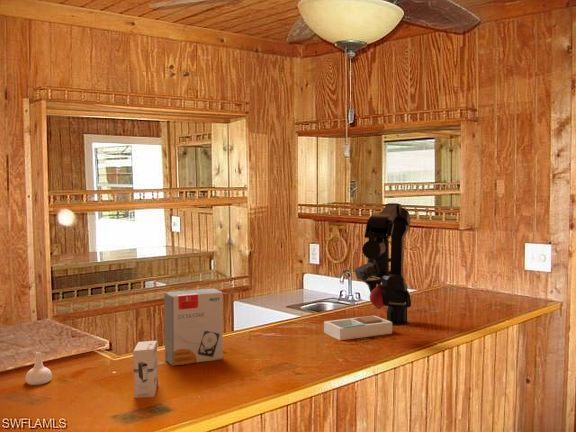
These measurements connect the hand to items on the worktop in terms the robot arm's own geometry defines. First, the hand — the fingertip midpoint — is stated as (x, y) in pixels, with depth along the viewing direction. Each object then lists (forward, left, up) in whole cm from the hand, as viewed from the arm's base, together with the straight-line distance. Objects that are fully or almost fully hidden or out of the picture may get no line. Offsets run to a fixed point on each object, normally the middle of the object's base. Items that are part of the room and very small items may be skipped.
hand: (380, 303), depth 196 cm
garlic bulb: (+102, -5, -12) cm, 103 cm away
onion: (0, 0, -2) cm, 2 cm away
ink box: (+78, +15, -12) cm, 80 cm away
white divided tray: (+2, -11, -12) cm, 16 cm away
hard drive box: (+60, -6, -12) cm, 61 cm away
